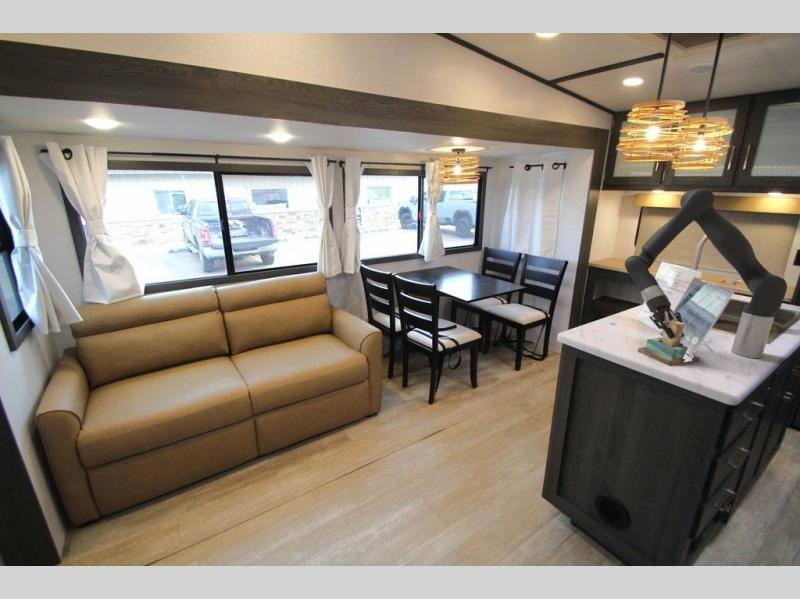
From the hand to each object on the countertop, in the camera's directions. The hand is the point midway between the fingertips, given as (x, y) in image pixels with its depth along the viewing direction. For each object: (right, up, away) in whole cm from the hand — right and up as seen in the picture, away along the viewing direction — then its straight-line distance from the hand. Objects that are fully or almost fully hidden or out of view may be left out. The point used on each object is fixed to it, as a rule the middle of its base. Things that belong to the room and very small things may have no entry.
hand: (677, 337), depth 142 cm
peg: (-1, -4, +3) cm, 5 cm away
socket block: (-1, -8, +4) cm, 9 cm away
